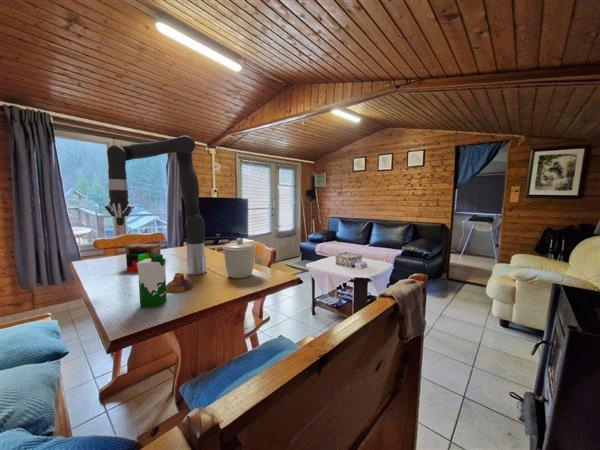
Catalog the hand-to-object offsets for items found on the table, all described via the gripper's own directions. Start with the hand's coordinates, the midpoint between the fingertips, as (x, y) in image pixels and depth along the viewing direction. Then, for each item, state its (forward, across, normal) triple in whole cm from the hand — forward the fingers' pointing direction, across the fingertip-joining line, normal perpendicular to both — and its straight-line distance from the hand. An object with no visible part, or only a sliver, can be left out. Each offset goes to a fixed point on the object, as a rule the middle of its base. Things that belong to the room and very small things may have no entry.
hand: (120, 225), depth 126 cm
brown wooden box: (+29, +6, -27) cm, 40 cm away
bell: (+30, -30, +6) cm, 42 cm away
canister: (+29, -54, -15) cm, 63 cm away
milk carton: (+29, -28, +24) cm, 47 cm away
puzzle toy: (+29, +6, -24) cm, 39 cm away
